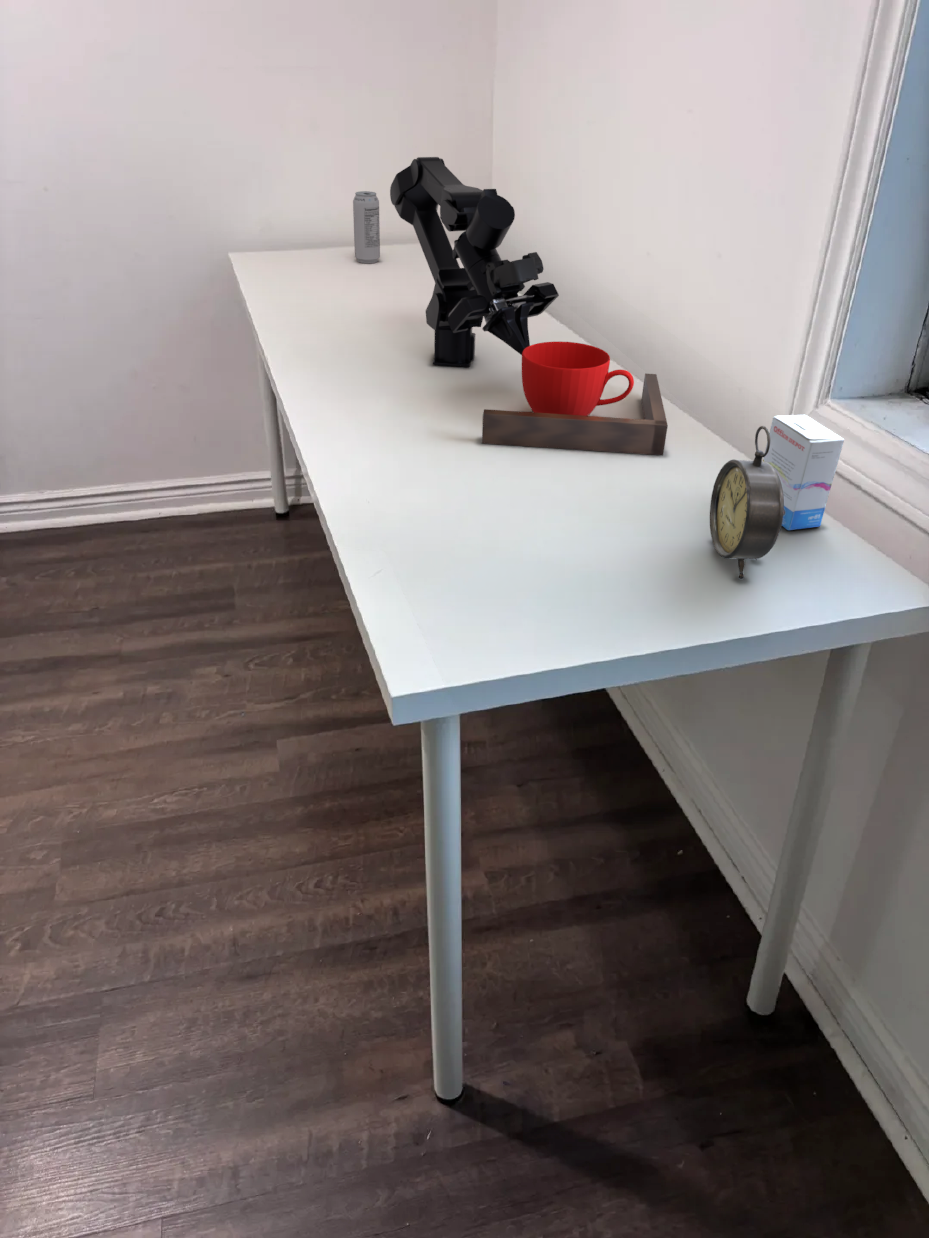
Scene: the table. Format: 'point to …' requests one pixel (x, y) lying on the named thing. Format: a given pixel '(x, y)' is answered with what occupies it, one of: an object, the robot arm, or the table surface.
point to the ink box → (803, 467)
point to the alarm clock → (746, 508)
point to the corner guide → (583, 428)
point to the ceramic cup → (567, 378)
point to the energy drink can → (366, 227)
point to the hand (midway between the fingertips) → (527, 355)
